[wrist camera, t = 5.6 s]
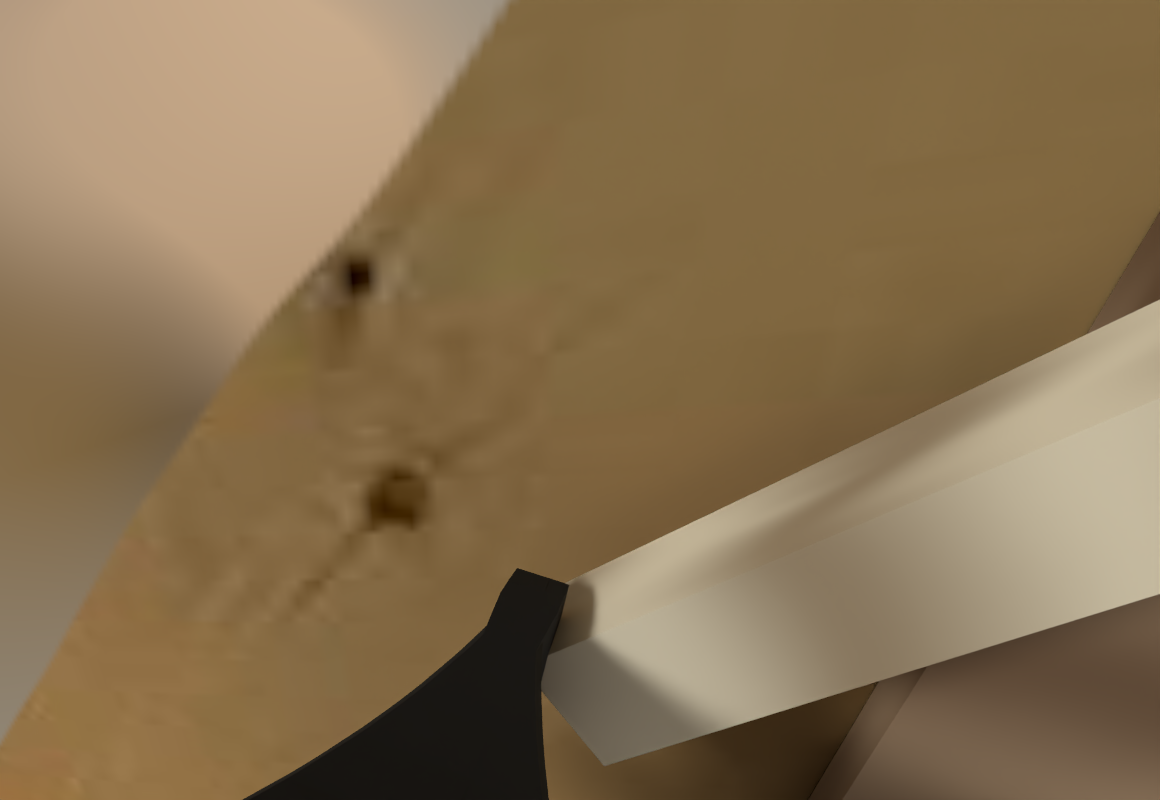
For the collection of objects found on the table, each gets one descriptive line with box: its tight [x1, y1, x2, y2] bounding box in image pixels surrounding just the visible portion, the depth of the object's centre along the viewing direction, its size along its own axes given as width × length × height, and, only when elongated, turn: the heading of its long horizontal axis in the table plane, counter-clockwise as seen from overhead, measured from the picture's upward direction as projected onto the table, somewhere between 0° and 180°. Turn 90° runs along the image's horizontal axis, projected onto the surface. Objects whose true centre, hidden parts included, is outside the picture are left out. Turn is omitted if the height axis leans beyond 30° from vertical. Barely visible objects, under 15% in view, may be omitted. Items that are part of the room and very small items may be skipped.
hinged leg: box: [541, 300, 1160, 766], centre depth 8 cm, size 12×2×2 cm, turn 127°
